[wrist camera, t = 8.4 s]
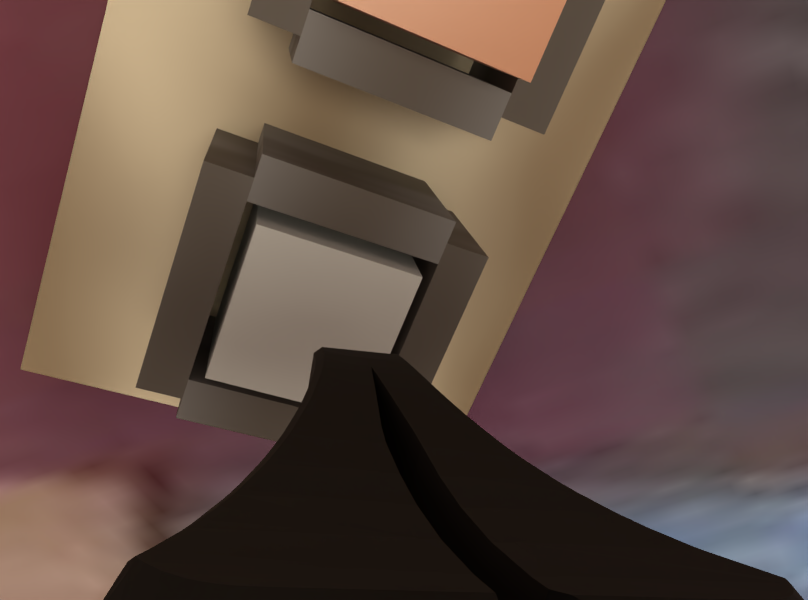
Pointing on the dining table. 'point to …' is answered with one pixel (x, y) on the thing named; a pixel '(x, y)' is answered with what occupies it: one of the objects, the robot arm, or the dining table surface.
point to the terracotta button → (475, 27)
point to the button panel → (310, 182)
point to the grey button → (304, 302)
